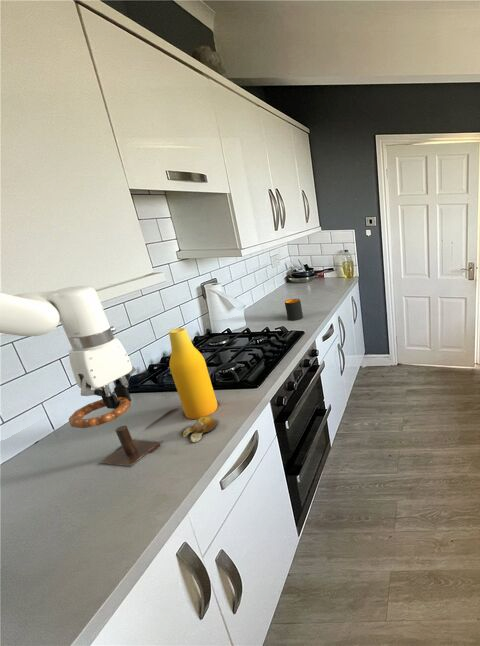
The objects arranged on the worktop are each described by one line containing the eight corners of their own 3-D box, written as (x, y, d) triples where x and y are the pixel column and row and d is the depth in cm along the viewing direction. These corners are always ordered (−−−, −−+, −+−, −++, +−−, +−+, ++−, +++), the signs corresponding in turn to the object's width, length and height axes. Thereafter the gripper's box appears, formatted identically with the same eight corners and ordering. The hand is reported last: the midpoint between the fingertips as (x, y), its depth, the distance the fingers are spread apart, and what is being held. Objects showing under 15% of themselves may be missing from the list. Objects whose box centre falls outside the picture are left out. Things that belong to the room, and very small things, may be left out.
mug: (302, 313, 206) (300, 296, 203) (303, 319, 196) (300, 302, 192) (288, 315, 204) (285, 298, 200) (287, 321, 193) (284, 303, 189)
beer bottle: (187, 408, 116) (161, 328, 106) (218, 400, 120) (196, 322, 110) (184, 423, 109) (155, 338, 98) (217, 414, 113) (193, 332, 102)
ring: (58, 427, 80) (54, 420, 80) (106, 400, 90) (103, 394, 90) (97, 431, 79) (94, 424, 78) (142, 403, 89) (139, 397, 88)
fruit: (180, 434, 104) (176, 424, 102) (209, 419, 110) (206, 410, 109) (193, 444, 99) (190, 434, 98) (222, 428, 106) (219, 418, 104)
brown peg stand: (102, 466, 92) (88, 438, 89) (133, 443, 100) (122, 416, 97) (131, 469, 91) (119, 440, 88) (160, 445, 99) (150, 418, 96)
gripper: (112, 325, 90) (136, 387, 96) (38, 353, 75) (73, 423, 82) (137, 326, 89) (159, 388, 95) (67, 354, 74) (99, 425, 81)
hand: (119, 404), depth 88 cm, fingers closed on ring, 2 cm apart
